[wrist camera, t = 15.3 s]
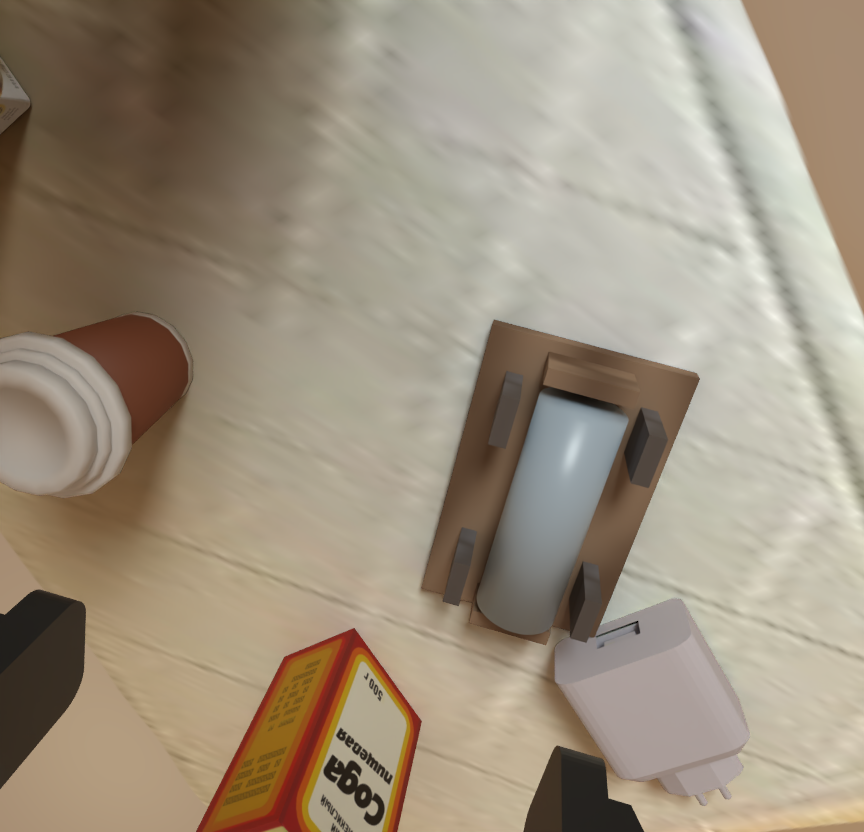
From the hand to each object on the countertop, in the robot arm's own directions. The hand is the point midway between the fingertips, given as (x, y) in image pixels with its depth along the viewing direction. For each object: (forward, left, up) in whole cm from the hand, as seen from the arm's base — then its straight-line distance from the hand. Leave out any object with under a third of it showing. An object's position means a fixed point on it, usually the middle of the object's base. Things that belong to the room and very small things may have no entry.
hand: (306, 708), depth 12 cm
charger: (+19, -25, -33) cm, 45 cm away
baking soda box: (-2, -32, -32) cm, 46 cm away
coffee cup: (-20, -10, -32) cm, 39 cm away
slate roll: (+7, -11, -31) cm, 34 cm away
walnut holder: (+7, -11, -32) cm, 35 cm away
